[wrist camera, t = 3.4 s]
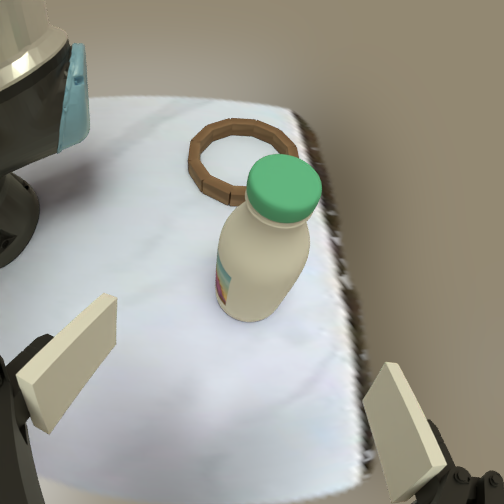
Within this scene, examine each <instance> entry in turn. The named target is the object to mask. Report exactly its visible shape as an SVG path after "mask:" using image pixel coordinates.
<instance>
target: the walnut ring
mask: <svg viewBox="0 0 504 504" xmlns="http://www.w3.org/2000/svg"><path fill="white" fill-rule="evenodd" d="M230 135H239V136H253V137H255V138H258V139H260V140H262V141H265V142H267V143H269V144H271V145H272V146H273V147H274V148H275V149H276V150H277V151H278V152H279V153H280V154H285V155H290V156H294V157H297V158H299V156H298V151H297V147H296V145H295V144H294V143H293V142H292V141H291V140H290V139H289V138H288V137H287V136H286V135H285V134H284V133H283V132H282V131H281V130H279V129H278V128H276V127H273V126H271V125H268V124H266V123H264V122H261V121H259V120H257V121H256V120H255V119H240V118H231V119H230V118H228V119H225V120H222V121H218V122H215V123H212V124H209V125H207V126H205V127H204V128H203V129H202V130H201V131H200V132H199V133H198V134H197V135H196V136H195V137H194V138H193V139H192V140H191V141H190V148H189V156H188V170H189V174H190V176H191V177H192V179H193V180H194V182H195V183H196V185H197V186H198V188H199V189H200V191H201V192H203V194H205V195H207V196H209V197H211V198H214V199H216V200H218V201H220V202H222V203H224V204H226V205H229V203H230V206H240V205H241V204H242V203H243V202H245V201H246V200H245V192H246V188H247V186H233V185H230V184H228V183H226V182H224V181H222V180H220V179H218V178H215V177H213V176H211V175H210V174H209V172H208V171H207V170H206V168H205V167H204V165H203V164H202V163H201V161H200V154H201V153H202V152H203V151H204V150H205V149H206V148H207V147H208V146H209V145H210V144H211V142H212V141H215V140H218V139H221V138H224V137H227V136H230Z"/></svg>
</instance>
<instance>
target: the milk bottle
mask: <svg viewBox="0 0 504 504" xmlns="http://www.w3.org/2000/svg"><path fill="white" fill-rule="evenodd" d="M321 191H322V185H321V181H320V178H319V176H318V174H317V173H316V171H315V170H314V169H313V168H312V167H311V166H310V165H309V164H307V163H306V162H304V161H303V160H301V159H299V158H297V157H294V156H290V155H285V154H273V155H268V156H265V157H263V158H261V159H259V160H258V161H257V162H256V163H255V164H254V165H253V167H252V168H251V170H250V172H249V176H248V180H247V188H246V192H245V200H246V201H245V202H243V203H242V204H241V205H240V206H238V207H237V208H236V209H235V210H234V211H233V212H232V213H231V215H230V216H229V217H228V219H227V220H226V222H225V224H224V226H223V228H222V231H221V234H220V238H219V244H218V251H217V264H216V283H215V290H216V297H217V300H218V302H219V304H220V306H221V308H222V309H223V310H224V311H225V312H226V313H227V314H228V315H230V316H231V317H233V318H235V319H237V320H240V321H244V322H256V321H260V320H263V319H265V318H267V317H268V316H270V315H271V314H272V313H273V312H274V311H275V310H276V309H277V307H278V306H279V305H280V303H281V302H282V301H283V299H284V298H285V296H286V295H287V293H288V292H289V291H290V289H291V288H292V286H293V285H294V283H295V282H296V280H297V279H298V277H299V275H300V273H301V272H302V270H303V268H304V266H305V264H306V261H307V258H308V254H309V248H310V237H309V231H308V227H307V223H306V221H308V219H309V218H310V217H311V215H312V213H313V211H314V209H315V207H316V206H317V204H318V202H319V199H320V197H321Z"/></svg>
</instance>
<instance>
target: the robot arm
mask: <svg viewBox="0 0 504 504" xmlns="http://www.w3.org/2000/svg"><path fill="white" fill-rule="evenodd" d="M89 130H90V114H89V99H88V84H87V66H86V53H85V46H84V45H83V44H82V43H80V44H77V43H74V44H73V45H72V46H70V45H69V41H68V35H67V33H66V31H65V30H63V29H60V28H58V27H55V26H52V25H50V23H49V19H48V14H47V9H46V4H45V0H0V268H1V267H3V266H5V265H7V264H8V263H10V262H11V261H12V260H13V259H15V258H16V257H17V256H18V255H19V254H20V252H21V251H22V250H23V249H24V248H25V246H26V245H27V243H28V242H29V240H30V238H31V236H32V234H33V232H34V230H35V228H36V225H37V221H38V217H39V201H38V198H37V196H36V194H35V192H34V191H33V189H32V188H31V186H30V185H29V184H28V183H27V182H26V181H25V180H23V179H22V178H20V177H19V176H17V175H16V174H14V173H13V171H15V170H17V169H19V168H22V167H24V166H26V165H29V164H31V163H33V162H36V161H38V160H40V159H43V158H45V157H48V156H50V155H53V154H55V153H57V154H58V153H60V152H61V151H62V150H63V149H66V148H68V147H70V146H73V145H75V144H78V143H80V142H81V141H83V140H84V139H85V138H86V136H87V135H88V133H89ZM116 320H117V297H114V296H111V295H108V294H105V293H103V294H102V295H101V296H100V297H98V298H97V299H96V300H95V301H94V302H93V303H91V304H90V305H89V306H88V307H87V308H86V309H85V310H84V311H82V312H81V313H80V314H79V315H78V316H77V317H76V318H75V319H74V320H72V321H71V322H70V323H69V324H68V325H67V326H66V327H65V328H64V329H63V330H62V331H60V332H59V333H58V334H57V335H56V336H55V337H53V336H51V335H49V334H45V335H43V336H40V337H38V338H36V339H35V340H34V341H33V342H32V343H31V344H30V345H29V346H27V347H26V348H25V349H24V351H22V352H21V353H20V354H19V355H17V356H16V357H15V358H14V359H13V360H12V361H11V362H10V363H9V364H8V365H7V366H6V367H5V364H4V360H3V358H2V357H1V356H0V504H45V502H44V498H43V495H42V492H41V488H40V485H39V481H38V477H37V473H36V469H35V465H34V461H33V456H32V451H31V446H30V441H29V435H28V429H27V425H26V421H27V420H28V418H29V417H31V420H32V422H33V425H34V426H35V427H37V428H39V429H40V430H42V431H44V432H46V433H47V434H49V435H50V433H51V432H52V430H53V429H54V427H55V426H56V424H57V423H58V422H59V420H60V419H61V417H62V416H63V415H64V413H65V412H66V410H67V409H68V408H69V406H70V405H71V403H72V402H73V401H74V399H75V398H76V397H77V395H78V394H79V393H80V391H81V390H82V388H83V387H84V386H85V384H86V383H87V382H88V380H89V379H90V378H91V376H92V375H93V374H94V372H95V371H96V370H97V368H98V367H99V366H100V364H101V363H102V362H103V361H104V359H105V358H106V357H107V355H108V354H109V353H110V351H111V350H112V349H113V348H114V346H115V345H116ZM362 402H363V405H364V408H365V411H366V415H367V418H368V421H369V424H370V428H371V431H372V434H373V438H374V441H375V445H376V448H377V452H378V455H379V459H380V462H381V466H382V469H383V473H384V477H385V480H386V484H387V488H388V492H389V496H390V500H391V503H398V502H405V501H407V500H408V499H410V498H411V497H412V496H413V495H414V494H415V496H416V499H417V500H415V501H414V502H413V503H411V504H504V482H503V479H502V477H501V476H500V474H499V473H497V472H495V471H488V472H486V473H485V475H483V476H482V477H481V478H479V477H471V475H470V474H469V472H468V471H467V470H465V469H464V468H462V467H458V466H457V467H456V466H455V464H454V462H453V460H452V458H451V456H450V453H449V451H448V449H447V447H446V445H445V444H444V441H443V439H442V437H441V434H440V432H439V430H438V428H437V427H436V426H435V425H434V423H432V421H431V420H426V418H425V416H424V413H423V412H422V409H421V407H420V405H419V404H418V402H417V400H416V397H415V395H414V394H413V392H412V390H411V388H410V386H409V384H408V382H407V380H406V378H405V377H404V374H403V372H402V371H401V369H400V367H399V365H398V364H397V363H391V362H385V363H384V365H383V367H382V369H381V370H380V372H379V374H378V376H377V377H376V379H375V381H374V383H373V384H372V386H371V388H370V389H369V391H368V393H367V394H366V396H365V397H364V399H363V401H362Z"/></svg>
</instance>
